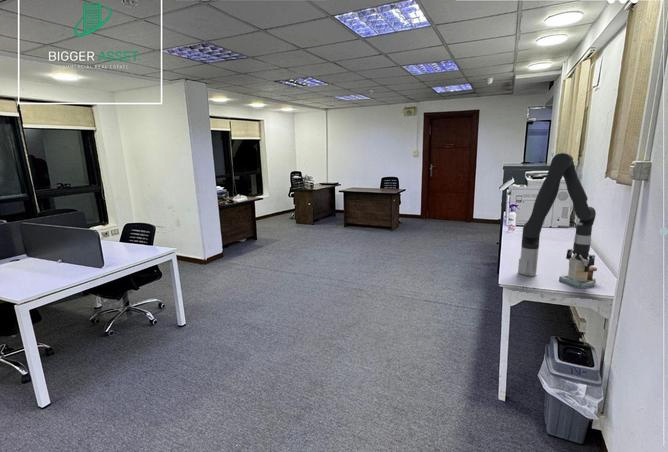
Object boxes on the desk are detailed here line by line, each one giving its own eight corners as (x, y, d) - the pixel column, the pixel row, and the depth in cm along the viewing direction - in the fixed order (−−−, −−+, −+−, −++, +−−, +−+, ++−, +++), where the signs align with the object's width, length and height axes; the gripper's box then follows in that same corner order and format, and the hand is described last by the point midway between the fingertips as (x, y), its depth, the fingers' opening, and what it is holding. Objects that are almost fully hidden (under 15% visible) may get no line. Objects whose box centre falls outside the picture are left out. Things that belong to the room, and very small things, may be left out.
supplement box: (580, 279, 193) (583, 257, 190) (587, 282, 189) (590, 260, 186) (566, 280, 193) (569, 258, 190) (573, 283, 188) (576, 261, 185)
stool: (590, 283, 190) (592, 270, 188) (579, 279, 195) (581, 266, 194) (597, 281, 192) (599, 268, 190) (587, 278, 197) (589, 265, 195)
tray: (581, 288, 183) (581, 284, 182) (559, 280, 195) (559, 276, 195) (594, 286, 186) (594, 281, 185) (571, 278, 198) (572, 273, 197)
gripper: (565, 240, 191) (561, 266, 194) (590, 246, 178) (586, 274, 181) (574, 238, 193) (571, 264, 197) (600, 244, 180) (596, 272, 183)
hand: (578, 269), depth 189 cm, fingers open, 8 cm apart
